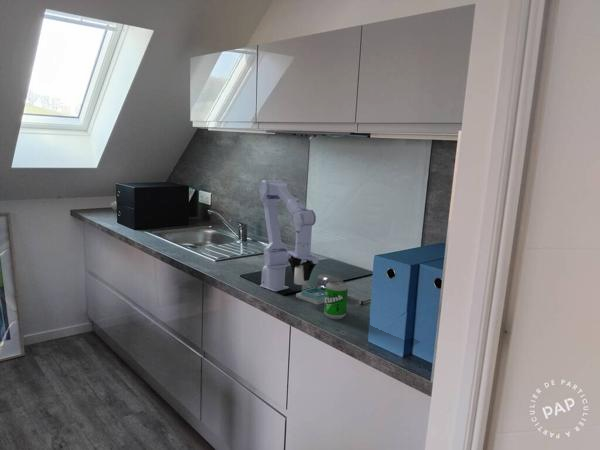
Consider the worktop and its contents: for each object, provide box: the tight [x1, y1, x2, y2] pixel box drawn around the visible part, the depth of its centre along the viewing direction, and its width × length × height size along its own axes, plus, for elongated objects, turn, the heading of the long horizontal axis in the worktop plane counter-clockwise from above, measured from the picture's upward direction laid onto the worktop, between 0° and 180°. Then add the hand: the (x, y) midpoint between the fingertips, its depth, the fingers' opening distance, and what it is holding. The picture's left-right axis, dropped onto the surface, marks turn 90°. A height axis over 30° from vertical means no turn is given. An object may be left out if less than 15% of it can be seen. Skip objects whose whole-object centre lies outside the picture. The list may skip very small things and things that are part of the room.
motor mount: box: [295, 273, 344, 305], centre depth 178 cm, size 12×18×8 cm, turn 137°
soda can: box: [323, 280, 349, 320], centre depth 158 cm, size 8×8×12 cm
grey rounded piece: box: [293, 265, 308, 286], centre depth 171 cm, size 5×7×6 cm
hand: (301, 278), depth 171 cm, fingers closed on grey rounded piece, 5 cm apart
